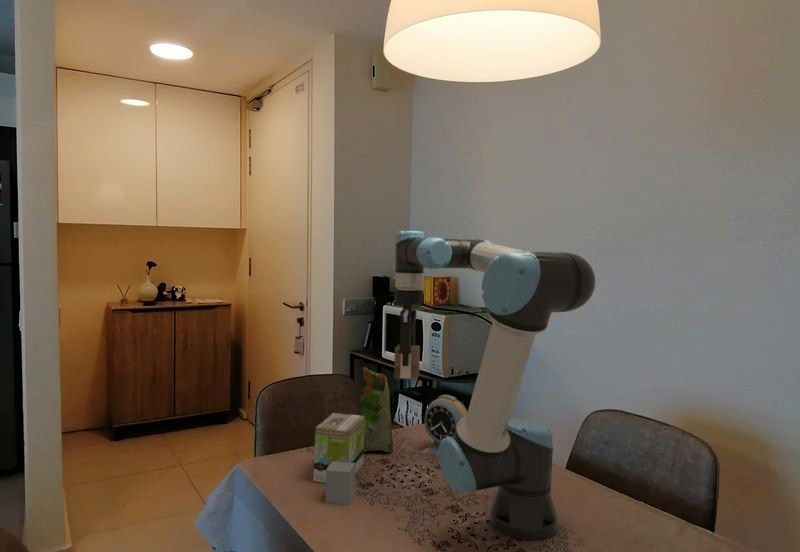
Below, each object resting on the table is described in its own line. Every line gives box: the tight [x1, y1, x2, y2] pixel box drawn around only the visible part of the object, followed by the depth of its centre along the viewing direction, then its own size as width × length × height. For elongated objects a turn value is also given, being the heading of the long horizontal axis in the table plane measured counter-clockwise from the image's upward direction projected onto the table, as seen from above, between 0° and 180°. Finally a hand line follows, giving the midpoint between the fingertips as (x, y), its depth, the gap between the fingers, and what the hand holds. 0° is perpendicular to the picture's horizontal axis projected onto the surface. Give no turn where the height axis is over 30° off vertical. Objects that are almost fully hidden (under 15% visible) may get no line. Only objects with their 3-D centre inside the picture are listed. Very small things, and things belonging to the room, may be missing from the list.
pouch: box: [360, 366, 394, 453], centre depth 173 cm, size 11×12×25 cm
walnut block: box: [393, 344, 421, 381], centre depth 151 cm, size 6×6×8 cm
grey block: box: [324, 461, 356, 505], centre depth 139 cm, size 6×6×8 cm
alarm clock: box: [420, 394, 468, 459], centre depth 173 cm, size 14×10×18 cm
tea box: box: [313, 412, 365, 484], centre depth 155 cm, size 15×10×15 cm, turn 168°
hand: (407, 375), depth 151 cm, fingers closed on walnut block, 6 cm apart
